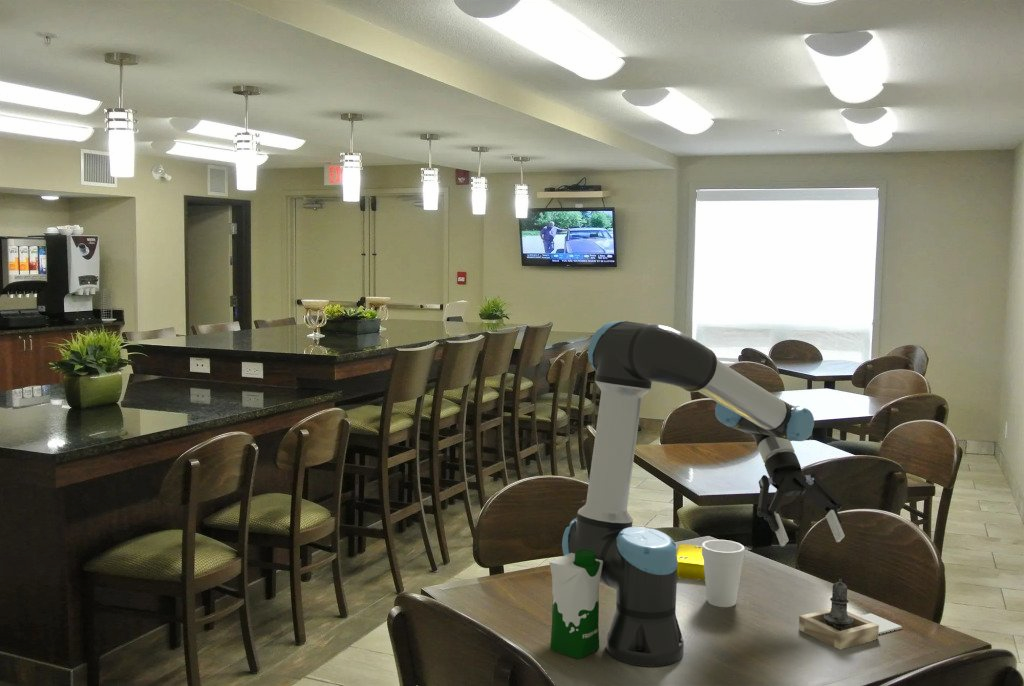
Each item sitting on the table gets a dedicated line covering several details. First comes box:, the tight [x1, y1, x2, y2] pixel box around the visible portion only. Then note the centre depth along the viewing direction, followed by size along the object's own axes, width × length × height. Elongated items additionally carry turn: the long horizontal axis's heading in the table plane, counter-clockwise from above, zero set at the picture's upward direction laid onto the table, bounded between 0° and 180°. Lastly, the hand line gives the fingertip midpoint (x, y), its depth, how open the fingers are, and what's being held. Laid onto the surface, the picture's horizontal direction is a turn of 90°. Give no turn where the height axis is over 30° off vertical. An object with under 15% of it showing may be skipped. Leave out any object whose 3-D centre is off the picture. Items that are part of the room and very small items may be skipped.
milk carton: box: [548, 550, 603, 660], centre depth 179 cm, size 9×9×20 cm
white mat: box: [858, 613, 903, 636], centre depth 193 cm, size 8×8×1 cm
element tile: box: [676, 543, 705, 581], centre depth 226 cm, size 15×15×5 cm
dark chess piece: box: [824, 578, 854, 631], centre depth 187 cm, size 6×6×12 cm
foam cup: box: [701, 539, 745, 608], centre depth 205 cm, size 10×9×13 cm
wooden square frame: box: [798, 608, 879, 651], centre depth 188 cm, size 11×11×3 cm
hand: (813, 541), depth 197 cm, fingers open, 13 cm apart
